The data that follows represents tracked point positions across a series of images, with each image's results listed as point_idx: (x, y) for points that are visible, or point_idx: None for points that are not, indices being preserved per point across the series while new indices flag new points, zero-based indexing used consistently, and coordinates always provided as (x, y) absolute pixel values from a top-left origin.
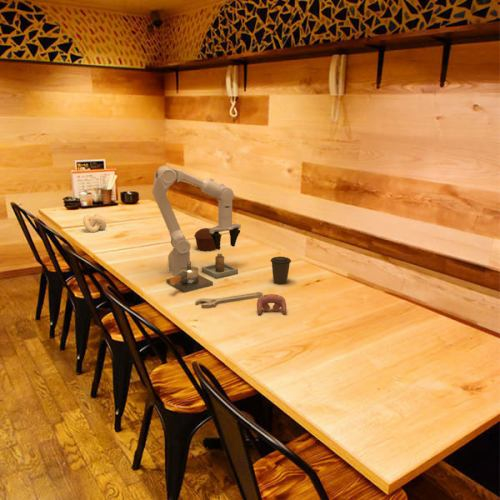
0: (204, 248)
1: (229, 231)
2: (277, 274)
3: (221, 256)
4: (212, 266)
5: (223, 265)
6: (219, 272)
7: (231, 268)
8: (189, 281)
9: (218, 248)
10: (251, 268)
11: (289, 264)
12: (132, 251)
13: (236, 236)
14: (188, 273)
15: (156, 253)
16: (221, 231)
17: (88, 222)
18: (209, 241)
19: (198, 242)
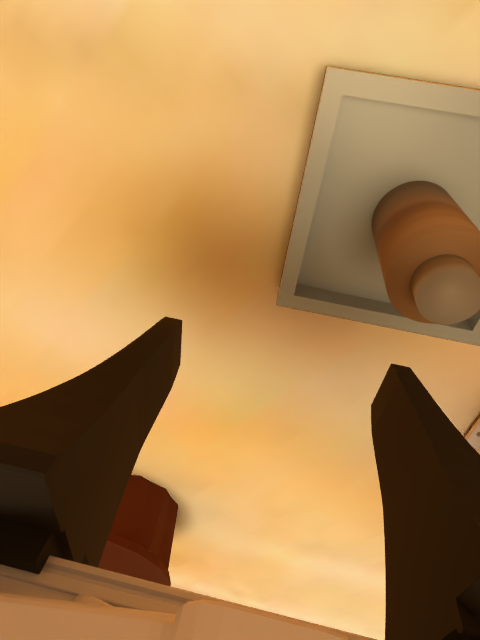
0: (162, 504)
1: (102, 545)
2: None
3: (453, 261)
4: (391, 311)
5: (423, 199)
6: (450, 192)
7: (325, 163)
8: None
9: (416, 378)
10: (127, 91)
11: None
12: (383, 632)
13: (88, 391)
14: None
15: (343, 585)
16: (363, 637)
17: None
18: (127, 529)
19: (170, 551)
